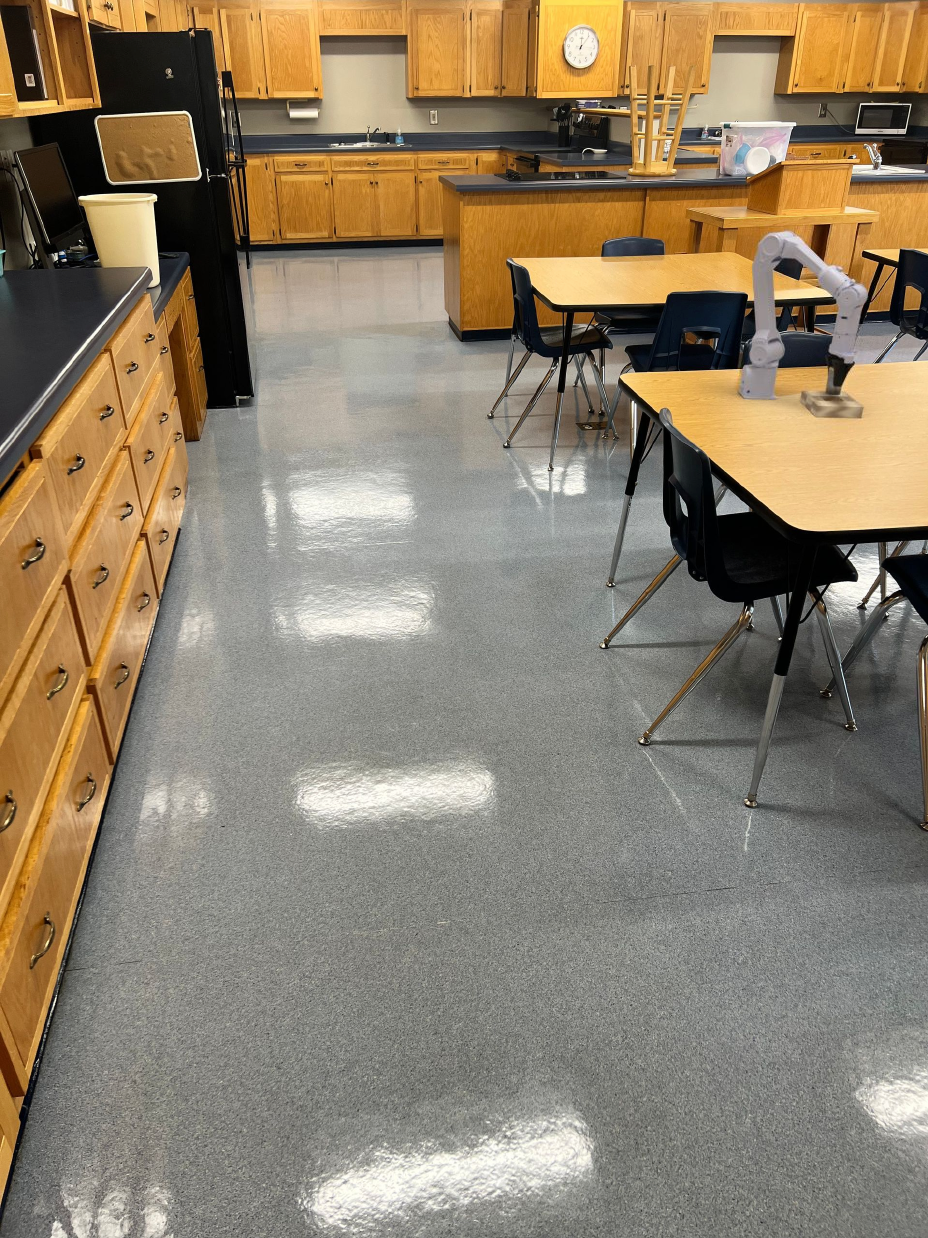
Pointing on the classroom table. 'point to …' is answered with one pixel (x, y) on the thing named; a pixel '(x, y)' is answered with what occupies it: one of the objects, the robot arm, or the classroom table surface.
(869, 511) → the classroom table surface
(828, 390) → the pin
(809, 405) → the block
